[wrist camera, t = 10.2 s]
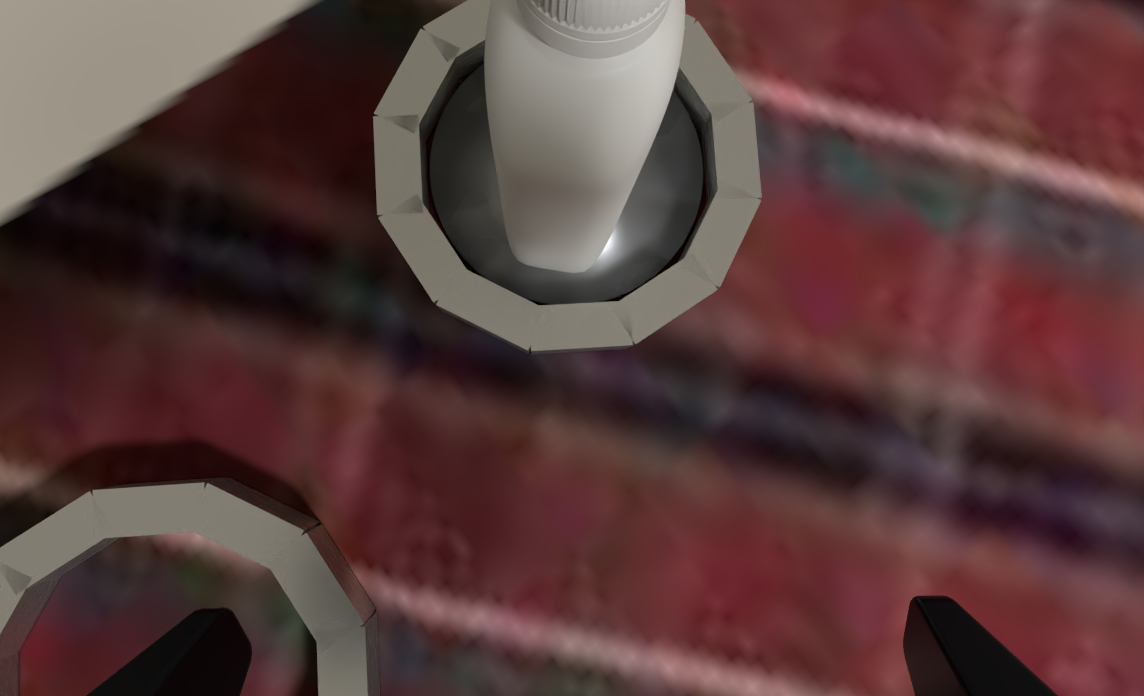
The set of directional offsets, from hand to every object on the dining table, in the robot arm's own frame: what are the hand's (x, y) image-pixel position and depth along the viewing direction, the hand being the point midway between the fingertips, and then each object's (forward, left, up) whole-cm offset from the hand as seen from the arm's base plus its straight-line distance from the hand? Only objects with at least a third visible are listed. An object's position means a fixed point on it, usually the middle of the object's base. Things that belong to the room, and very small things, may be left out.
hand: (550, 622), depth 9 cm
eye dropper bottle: (+9, +4, -9) cm, 13 cm away
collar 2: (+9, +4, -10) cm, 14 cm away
